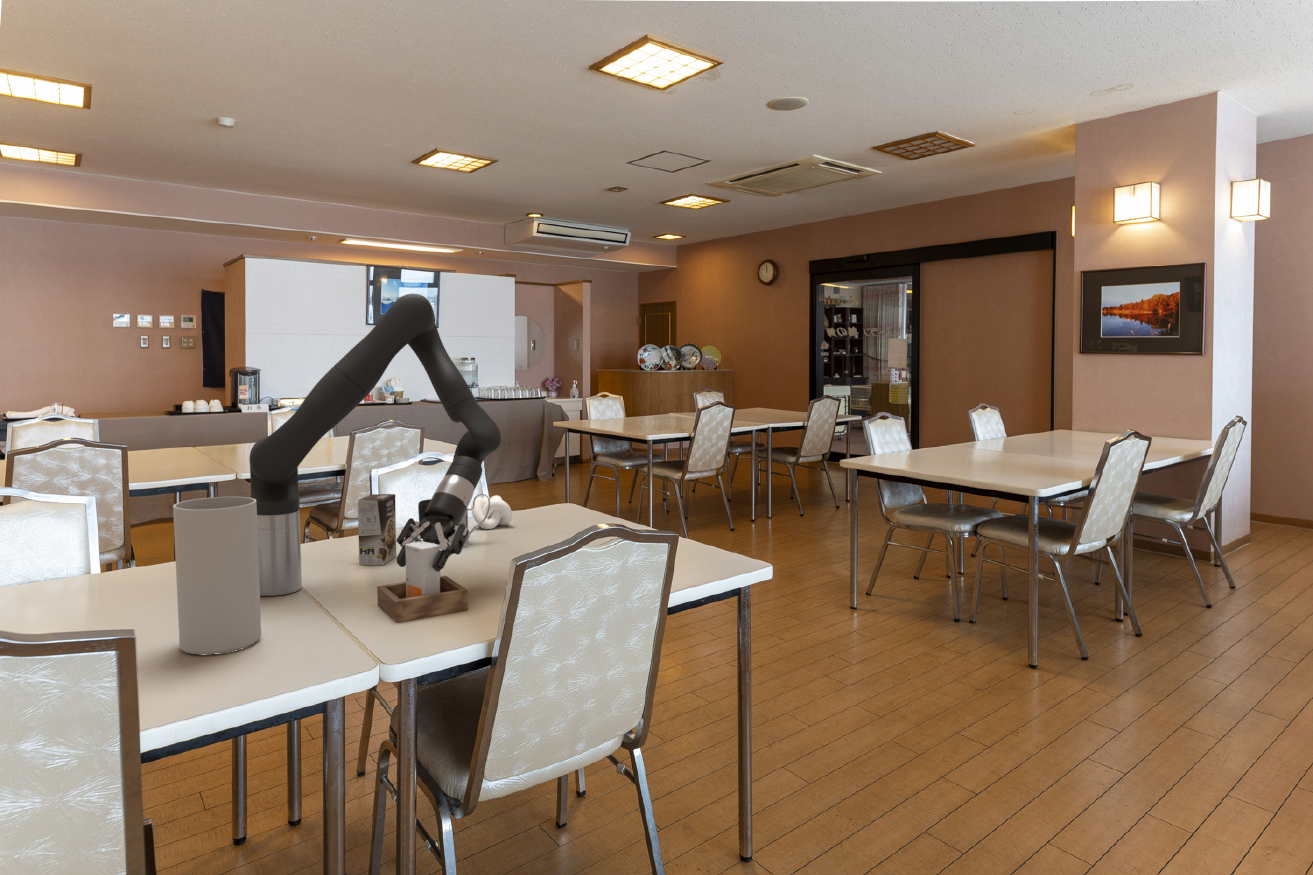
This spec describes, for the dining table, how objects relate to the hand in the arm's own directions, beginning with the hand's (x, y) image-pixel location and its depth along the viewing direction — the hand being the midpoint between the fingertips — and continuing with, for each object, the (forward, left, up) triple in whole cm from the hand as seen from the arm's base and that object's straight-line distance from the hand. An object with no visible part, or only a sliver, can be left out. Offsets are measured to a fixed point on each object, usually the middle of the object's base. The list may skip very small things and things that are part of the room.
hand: (417, 567), depth 157 cm
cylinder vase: (-35, 0, -9) cm, 36 cm away
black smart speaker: (+25, +61, -9) cm, 66 cm away
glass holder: (+28, +48, -9) cm, 56 cm away
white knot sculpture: (+44, +65, -9) cm, 79 cm away
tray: (+1, +1, -9) cm, 9 cm away
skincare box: (+1, +1, -8) cm, 8 cm away
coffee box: (+4, +43, -9) cm, 44 cm away
